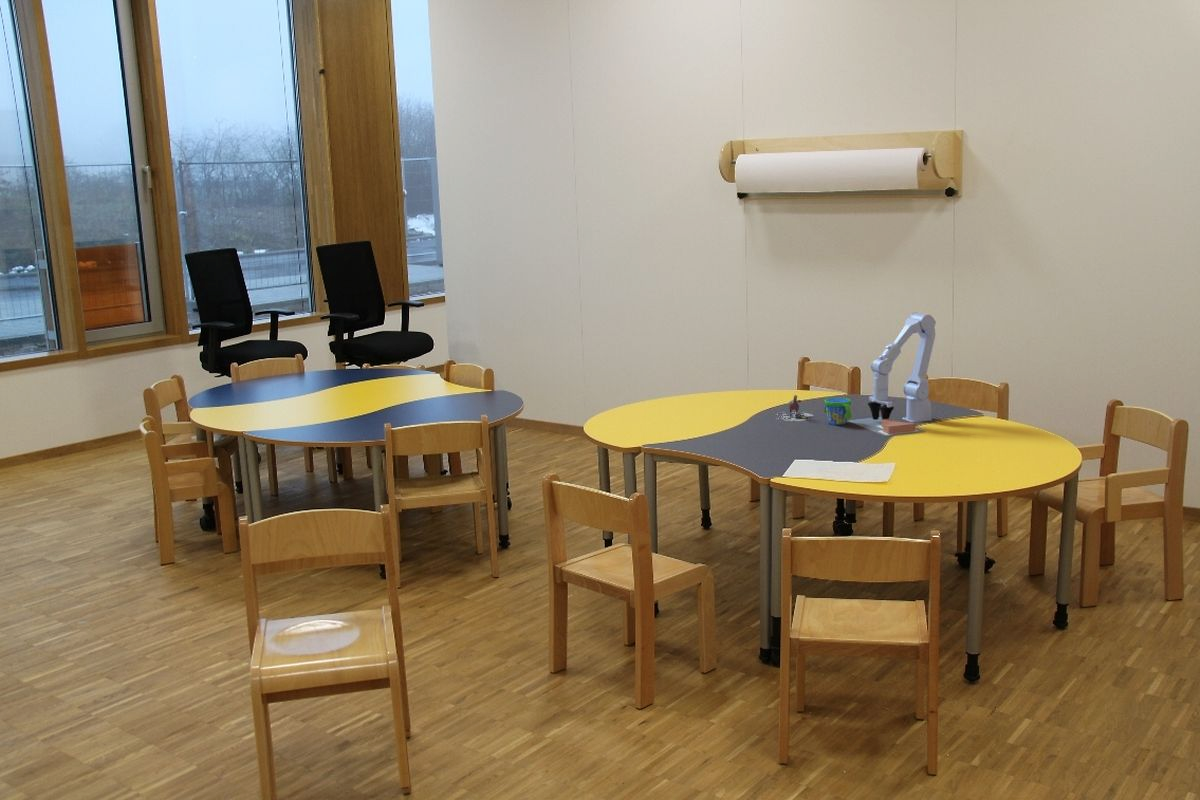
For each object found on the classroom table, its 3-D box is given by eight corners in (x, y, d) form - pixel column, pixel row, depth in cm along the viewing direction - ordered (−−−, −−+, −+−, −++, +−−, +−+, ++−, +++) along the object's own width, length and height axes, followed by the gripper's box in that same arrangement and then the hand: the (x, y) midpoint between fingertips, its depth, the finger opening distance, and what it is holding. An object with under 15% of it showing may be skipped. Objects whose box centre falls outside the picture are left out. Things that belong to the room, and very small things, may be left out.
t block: (899, 424, 458) (899, 417, 458) (915, 431, 447) (915, 423, 446) (872, 427, 455) (872, 420, 454) (888, 434, 444) (888, 426, 443)
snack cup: (858, 426, 459) (858, 402, 457) (835, 429, 456) (835, 404, 454) (839, 419, 474) (839, 395, 471) (816, 421, 471) (817, 397, 468)
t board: (885, 417, 474) (885, 416, 474) (925, 432, 446) (925, 431, 446) (846, 421, 469) (846, 420, 469) (885, 436, 441) (885, 435, 441)
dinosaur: (818, 421, 472) (818, 395, 470) (775, 422, 473) (775, 396, 471) (811, 412, 490) (811, 387, 488) (769, 413, 490) (769, 388, 488)
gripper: (863, 386, 464) (862, 418, 467) (881, 392, 450) (880, 425, 453) (878, 384, 466) (877, 417, 468) (897, 391, 452) (896, 424, 455)
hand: (880, 421), depth 461 cm, fingers open, 7 cm apart
